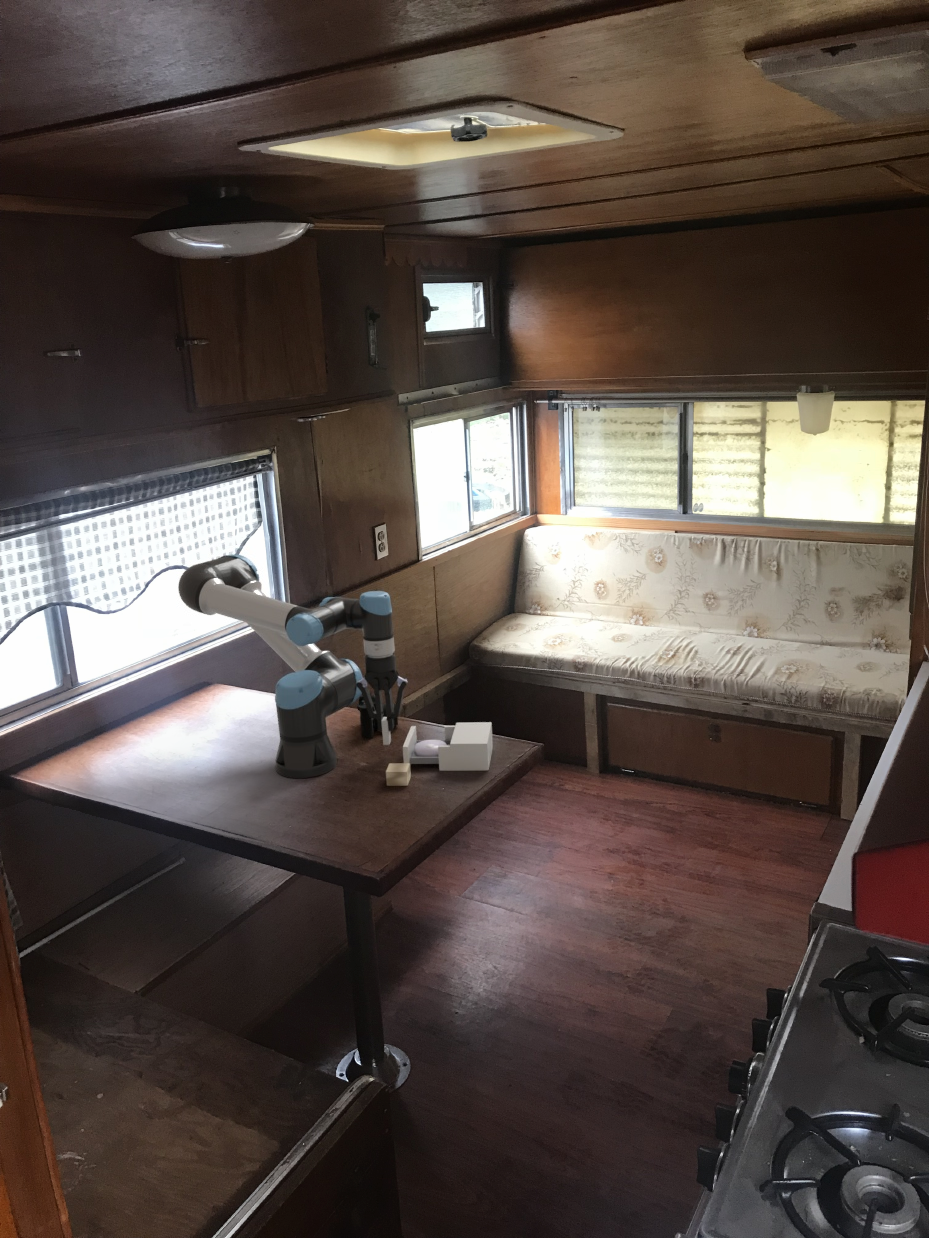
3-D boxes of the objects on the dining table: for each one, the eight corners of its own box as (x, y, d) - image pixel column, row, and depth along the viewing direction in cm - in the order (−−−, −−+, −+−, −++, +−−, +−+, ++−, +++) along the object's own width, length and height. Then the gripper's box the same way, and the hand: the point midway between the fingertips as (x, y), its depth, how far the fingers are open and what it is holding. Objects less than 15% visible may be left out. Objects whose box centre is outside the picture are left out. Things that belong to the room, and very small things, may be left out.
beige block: (386, 785, 234) (385, 771, 233) (390, 776, 239) (389, 763, 238) (407, 785, 234) (406, 771, 233) (410, 776, 238) (410, 763, 238)
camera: (398, 737, 263) (395, 702, 261) (358, 740, 263) (355, 704, 260) (399, 719, 277) (396, 685, 274) (361, 721, 276) (358, 687, 274)
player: (439, 770, 241) (437, 743, 239) (446, 748, 254) (444, 722, 253) (488, 770, 240) (487, 743, 238) (492, 747, 253) (491, 722, 251)
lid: (444, 758, 243) (444, 751, 243) (412, 758, 244) (412, 751, 244) (448, 745, 251) (448, 739, 250) (417, 745, 252) (417, 739, 251)
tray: (401, 769, 242) (400, 747, 241) (410, 747, 255) (409, 726, 254) (452, 769, 241) (450, 746, 239) (458, 747, 254) (456, 725, 252)
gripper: (350, 659, 241) (358, 749, 247) (403, 657, 240) (410, 748, 246) (357, 650, 248) (364, 737, 255) (408, 648, 247) (414, 736, 253)
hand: (387, 742), depth 250 cm, fingers closed
